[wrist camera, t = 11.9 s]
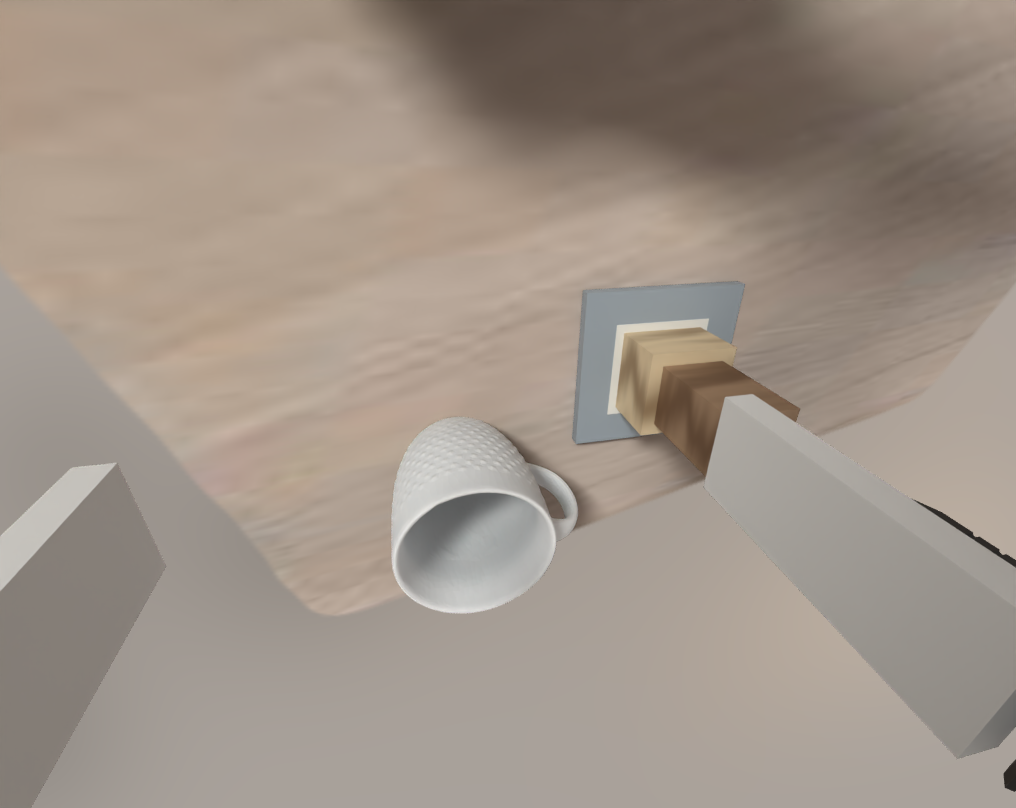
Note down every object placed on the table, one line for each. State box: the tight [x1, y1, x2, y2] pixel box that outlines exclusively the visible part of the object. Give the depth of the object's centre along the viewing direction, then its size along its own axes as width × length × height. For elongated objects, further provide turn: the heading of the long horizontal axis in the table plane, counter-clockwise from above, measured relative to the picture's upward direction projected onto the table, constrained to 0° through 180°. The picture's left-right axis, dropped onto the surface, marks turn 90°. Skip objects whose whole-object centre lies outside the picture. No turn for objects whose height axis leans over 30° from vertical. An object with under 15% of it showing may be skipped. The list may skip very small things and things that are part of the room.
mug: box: [391, 417, 578, 613], centre depth 37 cm, size 15×11×13 cm
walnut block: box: [654, 361, 800, 477], centre depth 33 cm, size 5×5×8 cm
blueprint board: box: [572, 281, 745, 444], centre depth 42 cm, size 14×14×1 cm
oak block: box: [616, 327, 737, 435], centre depth 39 cm, size 7×7×5 cm
